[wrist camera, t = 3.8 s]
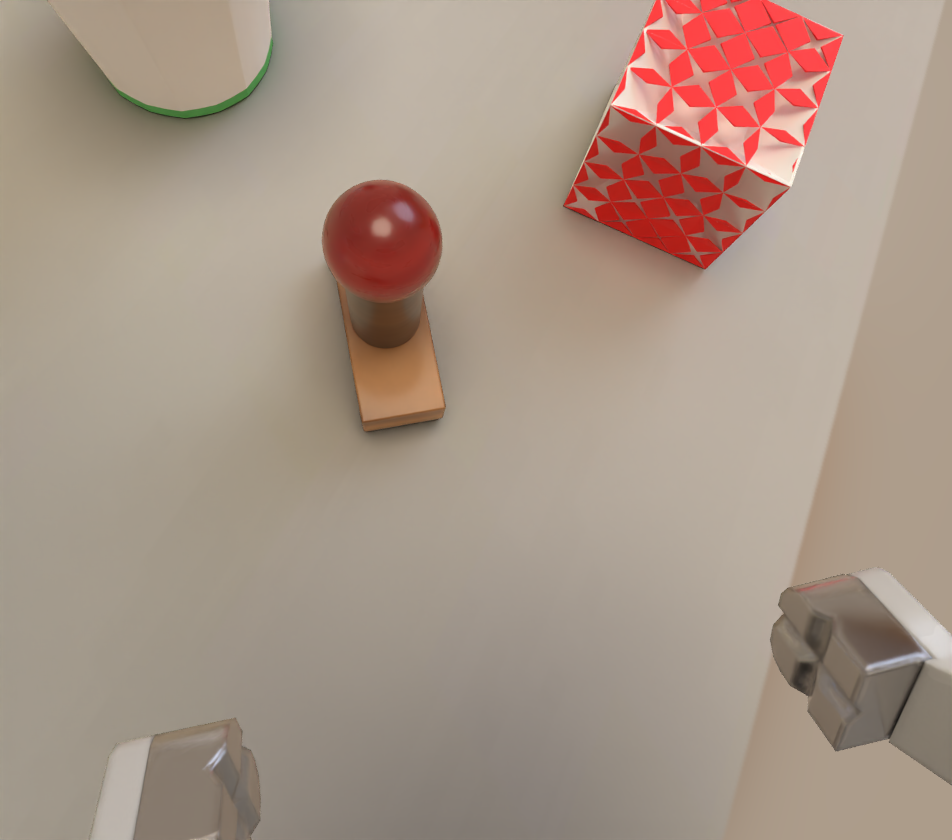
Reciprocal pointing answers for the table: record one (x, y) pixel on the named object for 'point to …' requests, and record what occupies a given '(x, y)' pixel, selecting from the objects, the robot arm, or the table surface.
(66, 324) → the table surface
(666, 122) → the red and white cube
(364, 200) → the stamp
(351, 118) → the table surface
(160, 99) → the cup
